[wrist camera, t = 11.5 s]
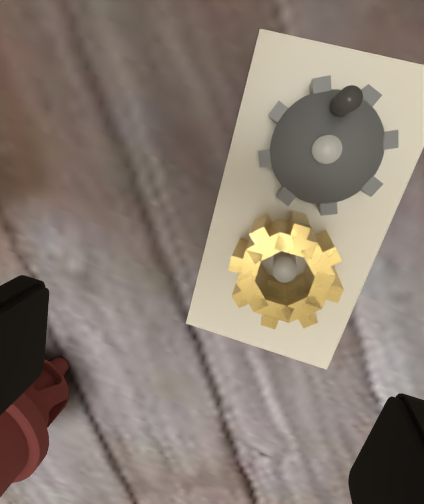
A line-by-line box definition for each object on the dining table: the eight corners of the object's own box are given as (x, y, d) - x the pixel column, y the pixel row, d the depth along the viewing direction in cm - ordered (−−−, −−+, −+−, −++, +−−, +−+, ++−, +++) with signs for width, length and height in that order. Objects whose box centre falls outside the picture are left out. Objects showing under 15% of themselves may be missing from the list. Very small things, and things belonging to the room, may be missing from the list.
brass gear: (251, 198, 25) (244, 209, 21) (348, 225, 24) (362, 242, 20) (226, 285, 27) (216, 310, 23) (315, 312, 26) (321, 344, 22)
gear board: (261, 35, 23) (252, -9, 16) (444, 77, 22) (514, 46, 15) (190, 315, 30) (164, 361, 24) (324, 358, 29) (336, 421, 22)
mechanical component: (83, 428, 37) (1, 393, 38) (100, 354, 34) (9, 317, 34) (-9, 556, 25) (-123, 501, 26) (3, 463, 22) (-129, 404, 23)
